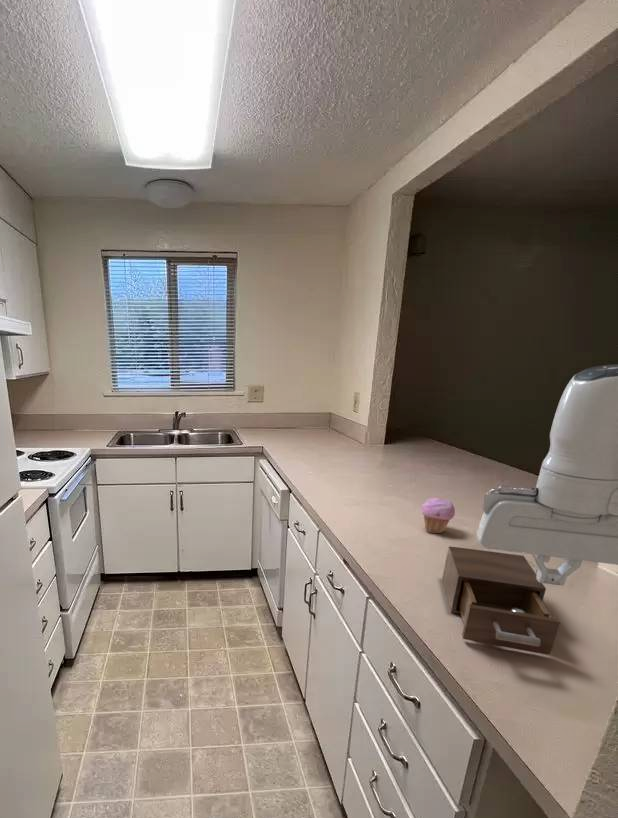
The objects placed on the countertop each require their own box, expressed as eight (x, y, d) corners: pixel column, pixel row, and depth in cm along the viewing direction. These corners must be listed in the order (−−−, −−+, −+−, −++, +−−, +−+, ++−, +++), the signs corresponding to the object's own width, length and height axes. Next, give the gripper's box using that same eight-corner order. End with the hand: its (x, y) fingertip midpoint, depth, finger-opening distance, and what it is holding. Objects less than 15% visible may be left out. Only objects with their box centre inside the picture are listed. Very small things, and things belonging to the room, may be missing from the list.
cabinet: (534, 627, 84) (546, 588, 81) (450, 613, 89) (458, 576, 86) (514, 590, 97) (523, 555, 94) (442, 579, 101) (448, 546, 98)
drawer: (559, 673, 71) (571, 639, 68) (467, 655, 75) (475, 622, 73) (527, 613, 87) (535, 583, 84) (452, 601, 91) (458, 572, 89)
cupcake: (416, 523, 133) (421, 492, 130) (447, 526, 131) (453, 495, 127) (420, 534, 125) (425, 502, 122) (453, 538, 123) (460, 505, 119)
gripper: (492, 491, 59) (472, 580, 63) (688, 507, 52) (648, 606, 57) (482, 478, 64) (464, 561, 69) (658, 492, 57) (624, 583, 62)
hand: (549, 582), depth 63 cm, fingers closed
